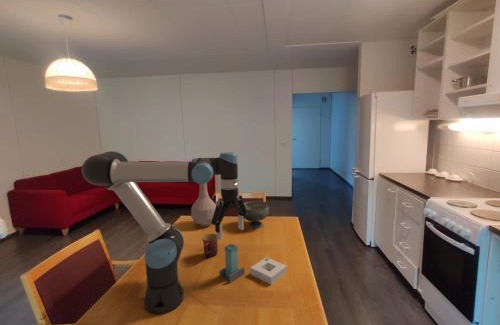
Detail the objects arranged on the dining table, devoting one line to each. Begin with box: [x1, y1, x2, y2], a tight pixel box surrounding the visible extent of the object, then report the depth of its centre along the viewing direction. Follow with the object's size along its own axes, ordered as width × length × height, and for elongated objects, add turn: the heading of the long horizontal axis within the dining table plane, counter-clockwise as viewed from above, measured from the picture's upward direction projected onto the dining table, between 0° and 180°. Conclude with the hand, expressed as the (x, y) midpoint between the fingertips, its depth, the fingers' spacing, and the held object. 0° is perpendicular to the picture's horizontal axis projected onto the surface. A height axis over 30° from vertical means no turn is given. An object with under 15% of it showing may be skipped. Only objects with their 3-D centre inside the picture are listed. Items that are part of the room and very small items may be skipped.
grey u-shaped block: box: [218, 266, 245, 284], centre depth 118 cm, size 9×7×4 cm
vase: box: [190, 182, 216, 227], centre depth 178 cm, size 18×18×30 cm
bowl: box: [244, 200, 270, 229], centre depth 176 cm, size 20×19×15 cm
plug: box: [224, 243, 239, 276], centre depth 117 cm, size 4×4×14 cm
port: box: [249, 257, 288, 285], centre depth 119 cm, size 12×12×5 cm
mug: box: [201, 233, 219, 259], centre depth 136 cm, size 12×9×10 cm
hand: (230, 233), depth 115 cm, fingers open, 13 cm apart
